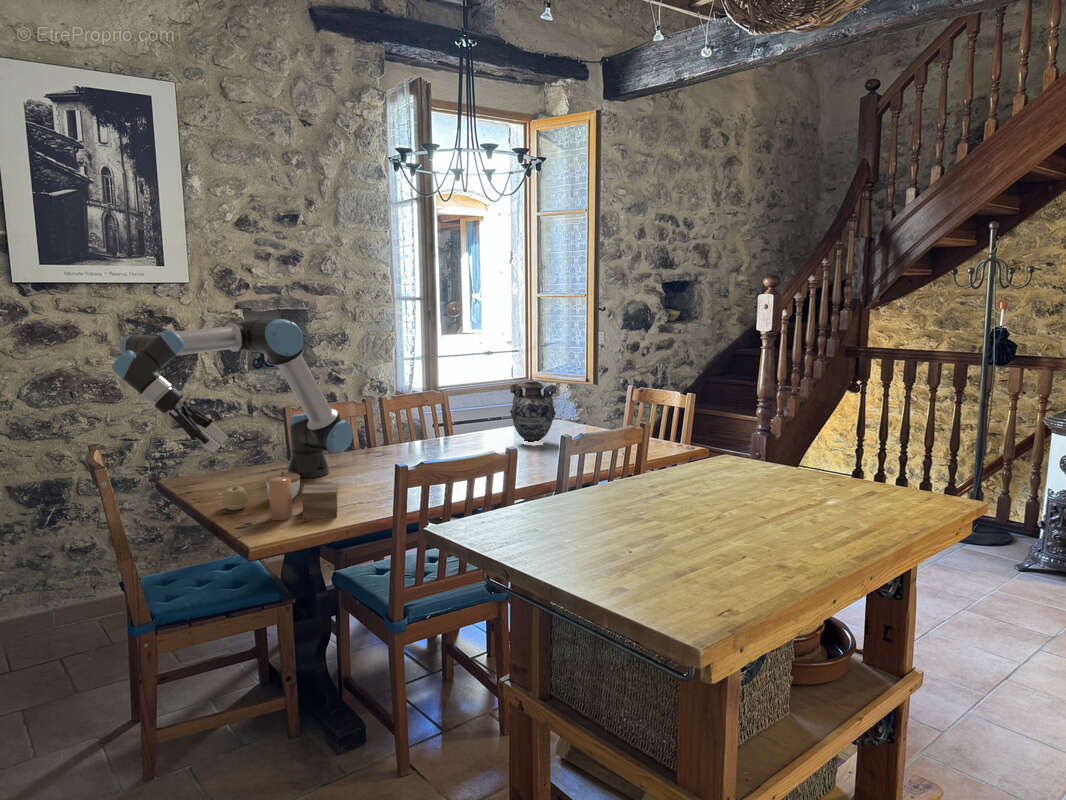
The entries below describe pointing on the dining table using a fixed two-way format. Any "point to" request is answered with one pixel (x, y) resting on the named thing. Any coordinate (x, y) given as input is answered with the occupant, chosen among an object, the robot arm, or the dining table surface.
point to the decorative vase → (532, 410)
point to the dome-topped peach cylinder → (280, 498)
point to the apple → (235, 498)
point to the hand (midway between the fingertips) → (221, 445)
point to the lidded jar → (294, 481)
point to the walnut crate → (319, 501)
